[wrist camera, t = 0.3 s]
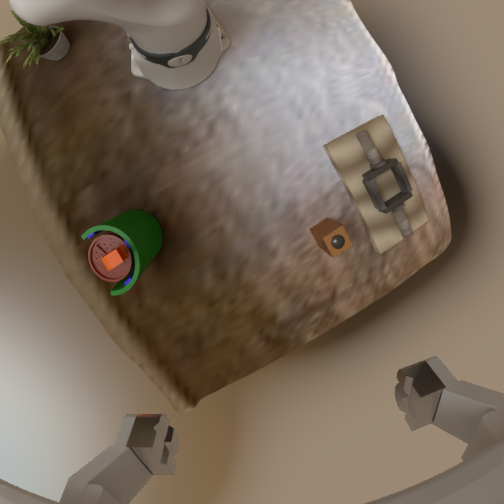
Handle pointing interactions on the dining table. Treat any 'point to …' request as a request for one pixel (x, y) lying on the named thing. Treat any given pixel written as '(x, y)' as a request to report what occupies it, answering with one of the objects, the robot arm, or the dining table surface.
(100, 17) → the robot arm
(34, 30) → the house plant
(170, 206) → the dining table surface
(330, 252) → the block
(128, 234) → the motor
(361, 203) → the base
